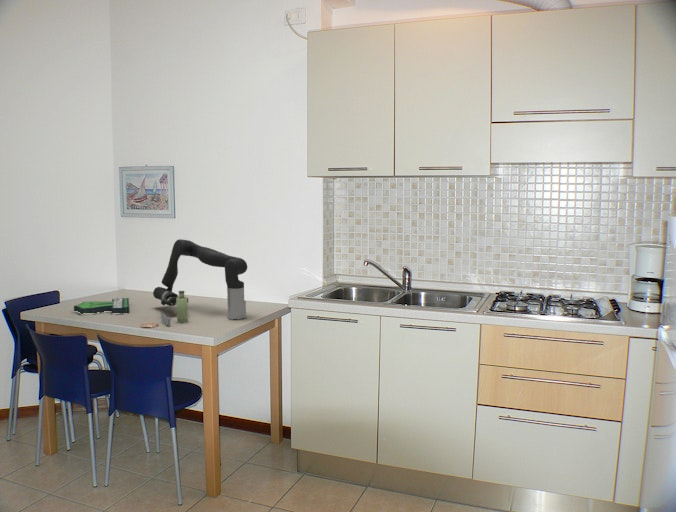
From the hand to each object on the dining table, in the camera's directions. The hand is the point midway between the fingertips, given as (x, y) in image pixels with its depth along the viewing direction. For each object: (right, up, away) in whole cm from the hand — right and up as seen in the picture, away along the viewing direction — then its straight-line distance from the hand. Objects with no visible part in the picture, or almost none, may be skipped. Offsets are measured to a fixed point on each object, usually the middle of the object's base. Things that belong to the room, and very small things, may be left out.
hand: (178, 303), depth 310 cm
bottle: (+4, -10, -5) cm, 12 cm away
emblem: (-51, -7, +23) cm, 57 cm away
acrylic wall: (-4, -10, -10) cm, 15 cm away
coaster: (-11, -11, -14) cm, 21 cm away
